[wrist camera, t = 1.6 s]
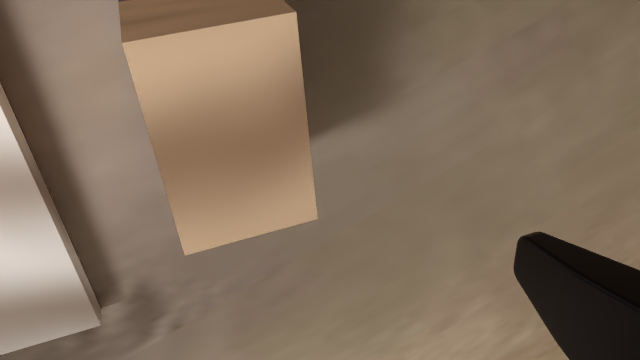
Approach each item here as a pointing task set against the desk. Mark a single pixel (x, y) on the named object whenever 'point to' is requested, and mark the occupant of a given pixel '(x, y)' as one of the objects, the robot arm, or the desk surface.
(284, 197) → the block
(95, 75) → the desk surface
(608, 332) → the robot arm
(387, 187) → the desk surface
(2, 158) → the board
